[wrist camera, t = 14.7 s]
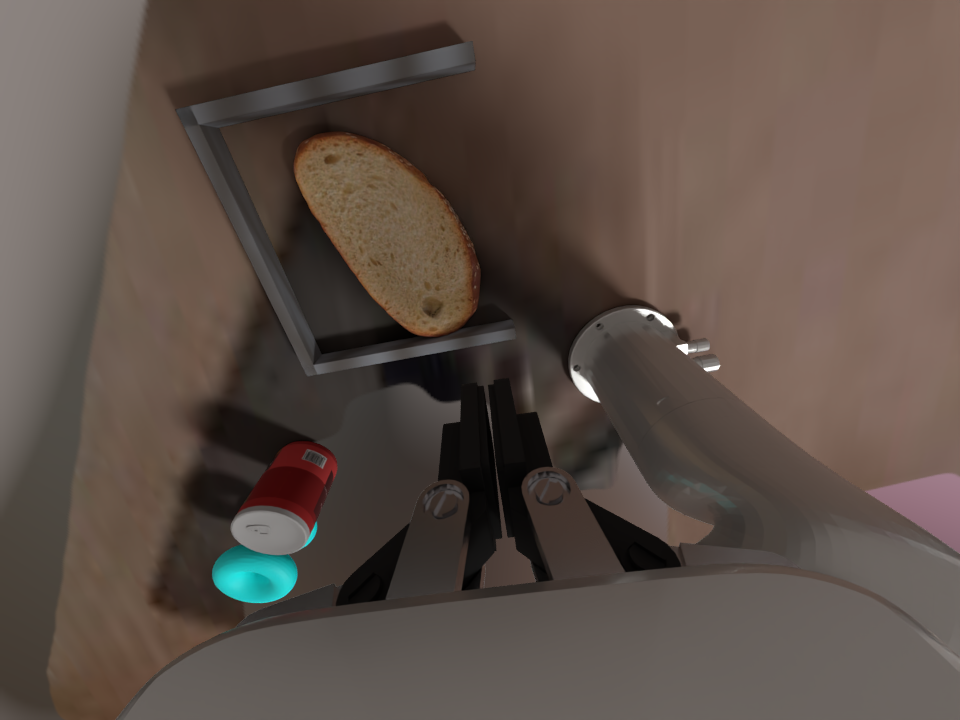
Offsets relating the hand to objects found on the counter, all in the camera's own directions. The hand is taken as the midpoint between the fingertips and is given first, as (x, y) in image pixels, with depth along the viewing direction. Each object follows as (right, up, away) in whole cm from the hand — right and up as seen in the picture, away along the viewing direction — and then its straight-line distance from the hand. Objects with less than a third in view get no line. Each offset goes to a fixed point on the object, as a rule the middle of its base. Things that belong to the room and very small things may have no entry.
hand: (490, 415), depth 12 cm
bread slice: (-9, +14, +23) cm, 28 cm away
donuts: (-30, -22, +41) cm, 55 cm away
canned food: (-24, -12, +35) cm, 44 cm away
